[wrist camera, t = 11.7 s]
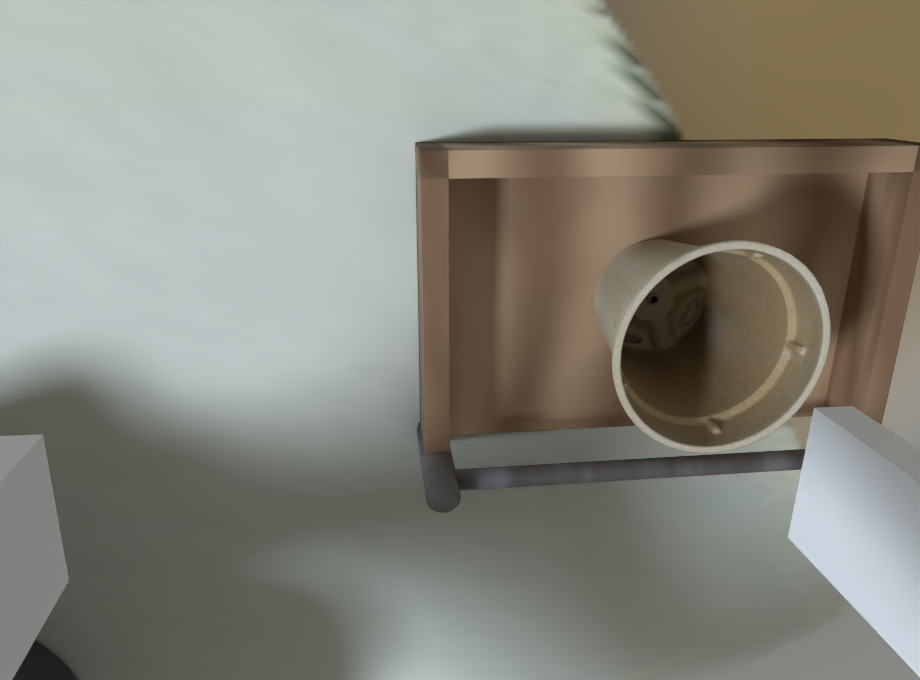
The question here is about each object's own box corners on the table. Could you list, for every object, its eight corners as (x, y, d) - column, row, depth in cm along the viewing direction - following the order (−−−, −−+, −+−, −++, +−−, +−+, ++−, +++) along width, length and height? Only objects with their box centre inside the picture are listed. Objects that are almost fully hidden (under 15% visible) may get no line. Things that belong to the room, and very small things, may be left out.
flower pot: (565, 207, 36) (622, 245, 28) (746, 202, 38) (849, 237, 29) (558, 381, 40) (606, 460, 32) (724, 373, 41) (812, 446, 33)
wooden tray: (417, 443, 41) (426, 513, 34) (411, 142, 35) (420, 158, 29) (834, 420, 44) (917, 481, 37) (889, 138, 38) (997, 152, 32)
